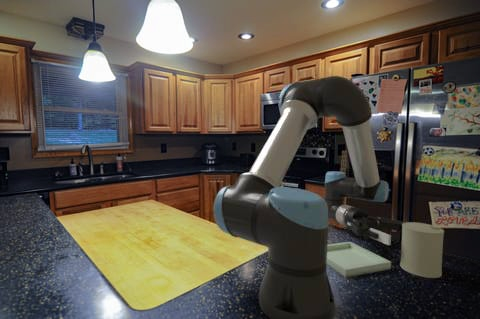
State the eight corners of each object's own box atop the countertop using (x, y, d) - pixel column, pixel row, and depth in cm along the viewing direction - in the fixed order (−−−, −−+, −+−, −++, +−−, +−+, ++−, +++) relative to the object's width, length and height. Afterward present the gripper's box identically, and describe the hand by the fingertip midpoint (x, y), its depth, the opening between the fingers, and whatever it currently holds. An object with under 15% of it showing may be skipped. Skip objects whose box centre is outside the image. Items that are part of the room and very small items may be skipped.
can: (450, 280, 63) (453, 232, 62) (408, 276, 65) (411, 229, 64) (430, 263, 72) (432, 221, 72) (394, 260, 74) (396, 219, 73)
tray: (345, 277, 64) (345, 269, 64) (310, 253, 78) (310, 247, 78) (390, 269, 69) (391, 261, 68) (350, 247, 83) (350, 241, 83)
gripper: (378, 224, 97) (437, 245, 77) (323, 231, 89) (373, 256, 69) (378, 205, 96) (438, 221, 76) (323, 209, 88) (374, 228, 68)
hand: (407, 237), depth 73 cm, fingers open, 13 cm apart
